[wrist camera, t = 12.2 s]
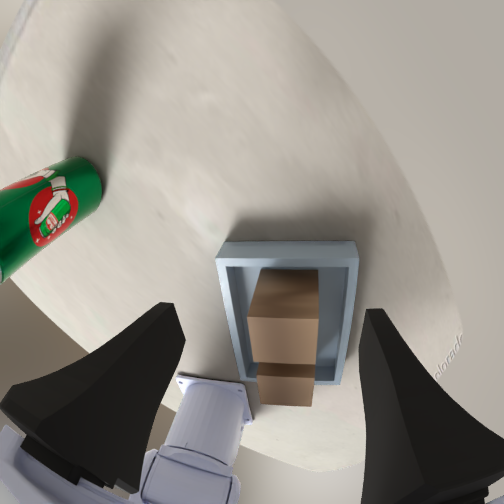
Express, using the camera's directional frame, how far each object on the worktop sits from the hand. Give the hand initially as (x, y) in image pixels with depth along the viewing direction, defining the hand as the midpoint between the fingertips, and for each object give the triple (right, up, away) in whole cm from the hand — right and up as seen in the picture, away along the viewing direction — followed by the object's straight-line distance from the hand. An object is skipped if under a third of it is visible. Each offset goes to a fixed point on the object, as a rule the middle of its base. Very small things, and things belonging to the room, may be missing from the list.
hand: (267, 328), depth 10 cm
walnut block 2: (+3, -5, +13) cm, 14 cm away
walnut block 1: (+2, 0, +11) cm, 11 cm away
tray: (+3, -2, +12) cm, 13 cm away
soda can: (-14, +8, +10) cm, 19 cm away
